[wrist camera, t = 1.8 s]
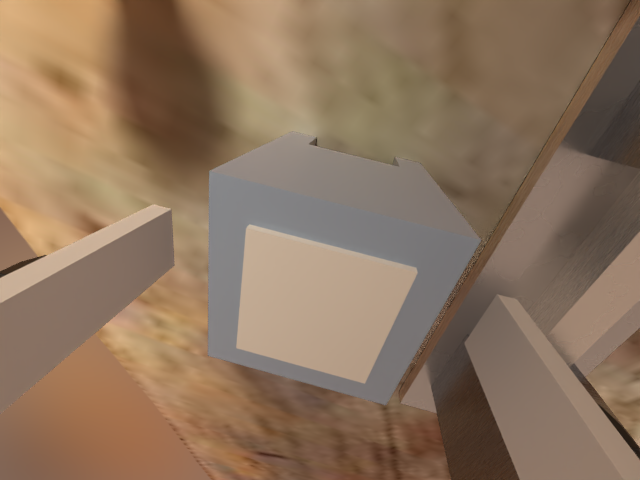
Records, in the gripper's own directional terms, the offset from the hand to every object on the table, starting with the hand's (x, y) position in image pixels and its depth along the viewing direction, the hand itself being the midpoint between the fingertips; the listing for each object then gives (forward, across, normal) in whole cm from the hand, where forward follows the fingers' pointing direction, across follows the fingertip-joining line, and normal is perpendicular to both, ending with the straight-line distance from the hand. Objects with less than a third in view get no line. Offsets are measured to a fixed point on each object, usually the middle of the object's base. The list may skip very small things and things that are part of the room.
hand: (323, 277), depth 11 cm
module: (+7, 0, 0) cm, 7 cm away
